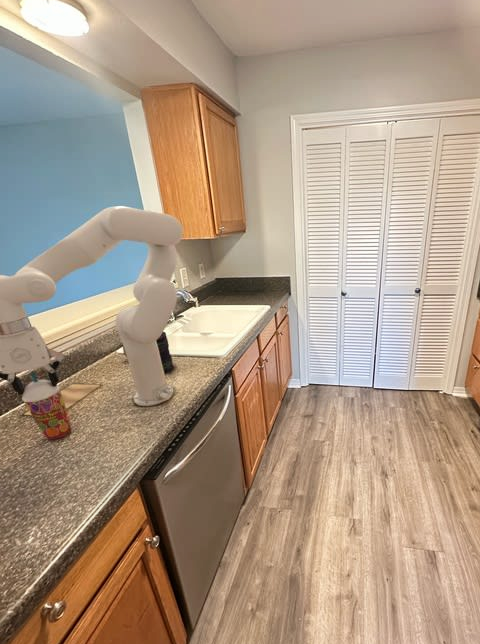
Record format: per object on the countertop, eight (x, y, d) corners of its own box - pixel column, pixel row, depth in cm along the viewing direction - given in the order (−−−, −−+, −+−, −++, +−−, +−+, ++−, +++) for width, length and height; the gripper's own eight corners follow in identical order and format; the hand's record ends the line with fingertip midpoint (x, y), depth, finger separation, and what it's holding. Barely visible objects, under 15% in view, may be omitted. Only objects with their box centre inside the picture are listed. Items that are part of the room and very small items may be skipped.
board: (72, 384, 122) (72, 383, 122) (100, 385, 120) (100, 385, 120) (23, 415, 104) (23, 414, 104) (55, 417, 102) (55, 416, 102)
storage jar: (177, 364, 134) (169, 330, 128) (169, 375, 125) (160, 339, 119) (153, 365, 134) (144, 331, 128) (143, 376, 125) (133, 341, 119)
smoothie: (38, 446, 89) (7, 383, 80) (44, 430, 95) (16, 370, 87) (74, 436, 92) (48, 374, 84) (77, 421, 99) (53, 362, 91)
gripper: (-40, 339, 73) (-6, 405, 81) (51, 323, 81) (75, 385, 88) (-30, 330, 79) (2, 392, 87) (54, 316, 87) (77, 374, 94)
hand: (39, 388), depth 87 cm, fingers closed on smoothie, 6 cm apart
